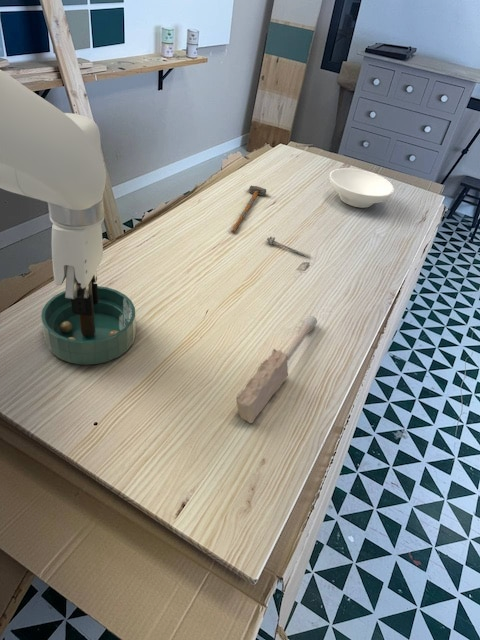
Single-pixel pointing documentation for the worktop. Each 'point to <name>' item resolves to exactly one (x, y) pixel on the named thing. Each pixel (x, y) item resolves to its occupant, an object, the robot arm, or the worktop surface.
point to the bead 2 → (113, 332)
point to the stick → (87, 318)
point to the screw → (271, 240)
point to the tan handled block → (269, 377)
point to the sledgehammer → (250, 202)
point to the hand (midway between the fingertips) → (85, 307)
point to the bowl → (360, 187)
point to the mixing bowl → (108, 316)
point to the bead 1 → (66, 326)
